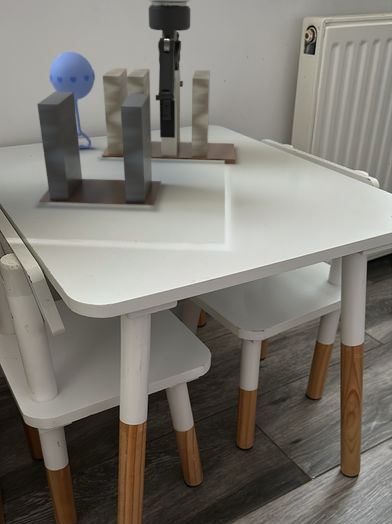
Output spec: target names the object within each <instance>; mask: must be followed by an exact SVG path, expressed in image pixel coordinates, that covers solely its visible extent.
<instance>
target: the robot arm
mask: <svg viewBox="0 0 392 524" xmlns="http://www.w3.org/2000/svg"><path fill="white" fill-rule="evenodd" d="M190 1H191V0H148V2H150V3H151V4H150V5H149V7H148V27H149V28H150V29H151V30H152V31H153V30H154V31H161V33H162V34H161V37H159V40H158V43H157V47H158V48H157V49H158V63H159V64H158V65H159V69H158V71H159V72H158V73H159V74H158V93H157V94H155V101H159V137H160V138H161V137H166V138H175V100H174V77H175V70H180V61H181V51H182V41H181V40H180V31H182V32H183V31H188V30H190V28H191V7H190V6H189V5H188V4H187V3H190ZM181 87H184V81H183V80H180V88H181Z"/></svg>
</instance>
